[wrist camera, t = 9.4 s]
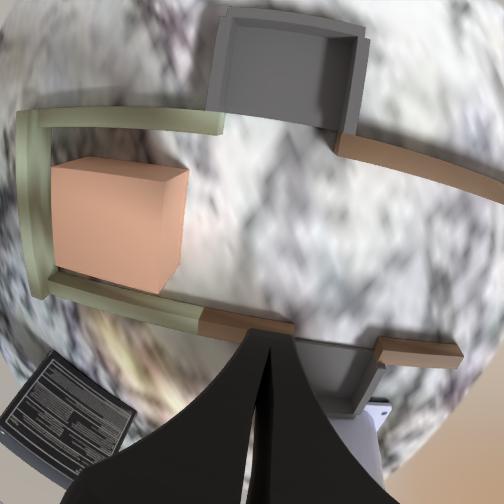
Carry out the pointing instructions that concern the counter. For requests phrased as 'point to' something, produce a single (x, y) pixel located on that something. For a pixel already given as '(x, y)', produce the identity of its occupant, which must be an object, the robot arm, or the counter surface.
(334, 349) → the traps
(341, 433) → the robot arm
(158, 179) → the block
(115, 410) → the small box
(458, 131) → the counter surface
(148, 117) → the lane
